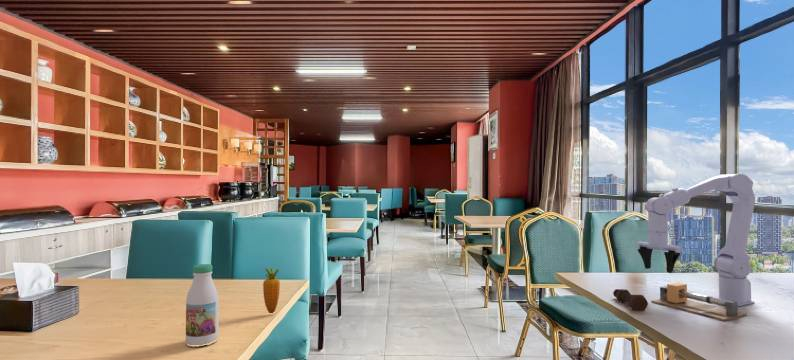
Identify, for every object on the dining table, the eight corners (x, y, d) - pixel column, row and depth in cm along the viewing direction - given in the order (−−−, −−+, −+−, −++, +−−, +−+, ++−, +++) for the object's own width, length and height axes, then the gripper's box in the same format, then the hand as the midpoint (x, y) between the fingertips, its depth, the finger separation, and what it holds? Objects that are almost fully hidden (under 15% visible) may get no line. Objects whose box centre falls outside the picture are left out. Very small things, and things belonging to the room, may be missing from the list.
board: (651, 302, 141) (651, 300, 141) (673, 298, 146) (672, 296, 146) (724, 321, 121) (724, 318, 121) (746, 315, 127) (746, 313, 127)
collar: (667, 301, 140) (667, 284, 140) (677, 298, 142) (677, 282, 142) (676, 303, 137) (676, 286, 137) (687, 301, 139) (686, 284, 139)
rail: (660, 300, 143) (660, 286, 143) (665, 299, 144) (665, 285, 144) (732, 318, 124) (732, 302, 124) (737, 317, 125) (737, 301, 125)
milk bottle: (193, 337, 110) (193, 262, 110) (222, 336, 111) (223, 262, 111) (180, 348, 102) (180, 268, 103) (212, 347, 103) (212, 267, 103)
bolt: (619, 303, 147) (642, 315, 132) (607, 296, 147) (627, 307, 132) (627, 289, 147) (651, 299, 132) (614, 282, 147) (636, 291, 132)
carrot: (283, 313, 130) (283, 266, 131) (272, 318, 126) (272, 269, 126) (270, 311, 132) (270, 265, 133) (259, 316, 128) (259, 268, 128)
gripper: (631, 230, 149) (631, 267, 149) (672, 234, 136) (673, 275, 136) (643, 229, 152) (644, 266, 152) (685, 233, 139) (685, 273, 139)
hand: (658, 270), depth 144 cm, fingers open, 7 cm apart
